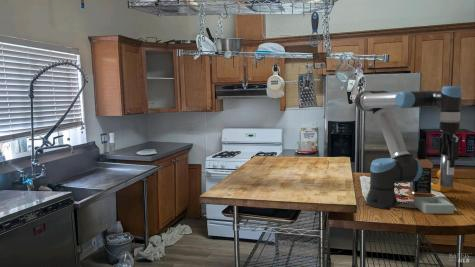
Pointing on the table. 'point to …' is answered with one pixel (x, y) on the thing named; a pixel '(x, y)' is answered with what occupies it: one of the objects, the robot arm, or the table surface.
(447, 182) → the dark gray tapered cylinder
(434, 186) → the bracket
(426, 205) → the block
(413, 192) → the whiskey bottle
